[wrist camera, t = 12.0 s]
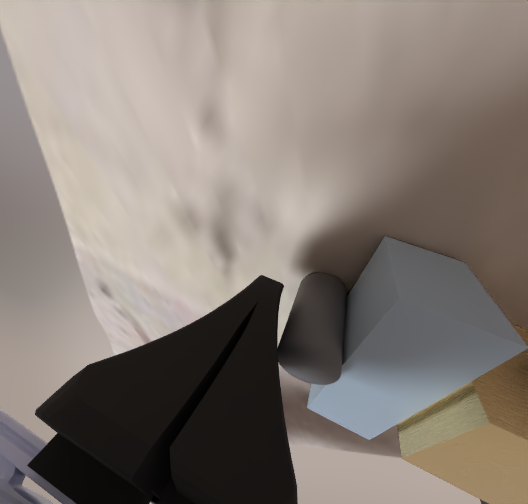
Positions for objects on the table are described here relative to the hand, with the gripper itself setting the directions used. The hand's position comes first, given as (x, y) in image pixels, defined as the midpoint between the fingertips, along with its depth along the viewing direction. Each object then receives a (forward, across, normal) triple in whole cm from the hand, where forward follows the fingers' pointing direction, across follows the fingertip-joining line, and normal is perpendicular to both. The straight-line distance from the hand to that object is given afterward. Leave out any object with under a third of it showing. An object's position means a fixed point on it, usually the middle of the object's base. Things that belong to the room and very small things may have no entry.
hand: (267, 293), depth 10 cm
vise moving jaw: (+2, -4, 0) cm, 4 cm away
